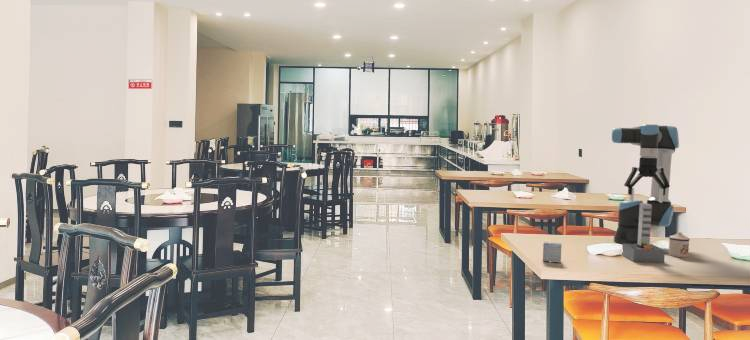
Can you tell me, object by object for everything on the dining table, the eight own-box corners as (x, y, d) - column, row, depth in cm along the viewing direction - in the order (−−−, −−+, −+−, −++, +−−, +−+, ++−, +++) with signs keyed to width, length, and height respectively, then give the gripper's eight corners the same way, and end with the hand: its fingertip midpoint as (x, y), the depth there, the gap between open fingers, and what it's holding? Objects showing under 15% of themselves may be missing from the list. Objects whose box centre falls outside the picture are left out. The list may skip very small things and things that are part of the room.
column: (637, 244, 282) (639, 203, 280) (645, 244, 281) (648, 203, 280) (641, 246, 277) (643, 204, 275) (650, 246, 277) (652, 204, 275)
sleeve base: (622, 255, 287) (622, 240, 287) (651, 256, 287) (652, 240, 286) (633, 261, 273) (634, 245, 273) (664, 262, 273) (665, 246, 272)
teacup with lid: (683, 258, 284) (684, 234, 283) (664, 254, 291) (665, 231, 290) (694, 255, 291) (696, 232, 290) (676, 252, 298) (677, 229, 298)
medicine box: (560, 261, 271) (561, 242, 270) (560, 263, 266) (561, 244, 266) (543, 259, 273) (543, 241, 272) (542, 261, 269) (543, 243, 268)
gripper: (624, 157, 273) (622, 202, 275) (679, 158, 272) (676, 203, 274) (618, 156, 281) (616, 200, 283) (671, 157, 280) (669, 201, 282)
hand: (645, 202), depth 278 cm, fingers open, 13 cm apart
